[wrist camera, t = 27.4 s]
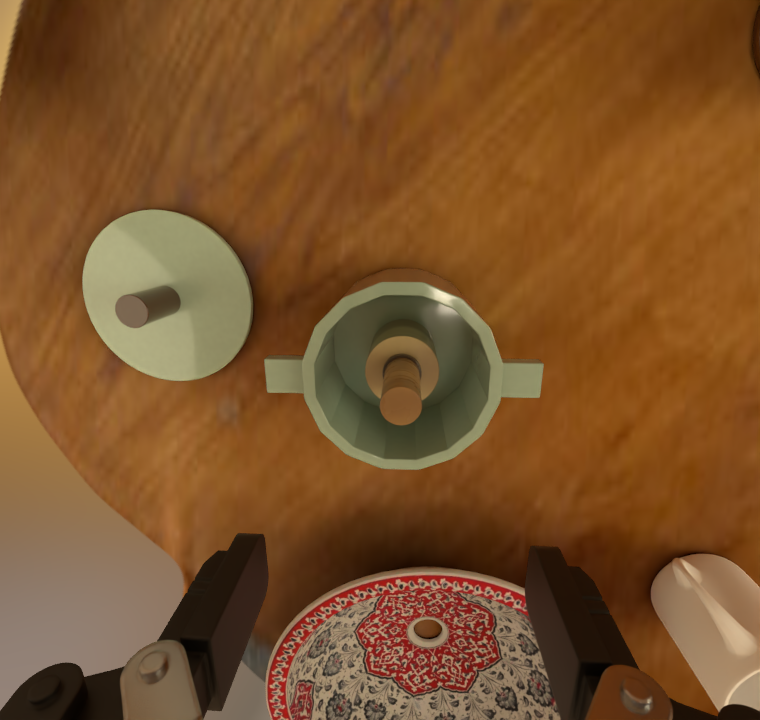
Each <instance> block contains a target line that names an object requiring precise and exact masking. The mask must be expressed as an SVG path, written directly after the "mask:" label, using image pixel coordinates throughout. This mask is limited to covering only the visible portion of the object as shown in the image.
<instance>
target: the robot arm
mask: <svg viewBox="0 0 760 720" xmlns="http://www.w3.org/2000/svg"><path fill="white" fill-rule="evenodd" d="M753 54H754V59H755V63H756V66H757V69H758V71H759V74H760V7H759V10H758V13H757V16H756V20H755V25H754V30H753ZM267 586H268V566H267V556H266V546H265V538H264V535H263V534H246V533H238V534H237V535H236V537H235V539H234V540H233V542H232V544H231V546H230V548H229V549H228V551H217V552H216V553H215V554H214V555H213V556H212V557H210V558H209V559H208V560H207V561H206V562H205V563H204V564H203V566H202V567H201V569H200V571H199V572H198V574H197V576H196V577H195V581H193V582H192V584H191V586H190V587H189V589H188V593H186V594H185V596H184V597H183V599H182V601H181V602H180V604H179V606H178V608H177V609H176V611H175V612H174V614H173V616H172V617H171V619H170V621H169V622H168V625H167V626H166V627H165V629H164V631H163V633H162V634H161V636H160V637H159V639H158V640H157V642H154V643H151V644H149V645H147V646H146V647H144V648H142V649H141V650H139V651H138V652H137V653H136V654H135V655H134V656H133V657H132V658H131V659H130V660H129V661H128V662H127V664H126V665H125V666H124V667H122V668H118V669H115V670H111V671H107V672H103V673H99V674H95V675H91V676H87V677H84V675H83V672H82V670H81V668H80V667H79V666H78V665H76V664H73V663H60V664H55V665H52V666H50V667H47V668H45V669H43V670H42V671H39V672H38V673H36V674H35V675H33V676H32V677H30V678H29V679H28V680H27V681H26V682H24V683H23V684H22V685H21V686H20V687H19V688H18V689H17V690H16V692H15V693H14V694H13V695H12V697H11V698H10V699H9V701H8V702H7V703H6V704H5V706H4V707H3V708H2V709H1V711H0V720H203V719H204V716H205V714H206V712H207V710H212V711H222V709H223V706H224V703H225V701H226V698H227V695H228V693H229V690H230V688H231V685H232V682H233V680H234V677H235V674H236V672H237V669H238V666H239V664H240V661H241V659H242V656H243V653H244V651H245V648H246V646H247V643H248V640H249V638H250V635H251V632H252V630H253V627H254V625H255V622H256V619H257V617H258V614H259V612H260V609H261V606H262V604H263V601H264V598H265V595H266V592H267ZM525 601H526V607H527V611H528V615H529V618H530V621H531V624H532V627H533V631H534V634H535V637H536V640H537V644H538V647H539V650H540V653H541V657H542V660H543V663H544V666H545V670H546V673H547V676H548V679H549V683H550V686H551V689H552V692H553V696H554V699H555V702H556V705H557V708H558V712H559V715H560V718H561V720H760V711H758V710H756V709H754V708H752V707H748V706H745V705H740V704H729V705H726V706H724V707H723V708H722V709H721V710H720V712H719V714H718V717H717V716H714V715H711V714H709V713H706V712H703V711H700V710H697V709H694V708H692V707H689V706H686V705H683V704H681V703H678V702H676V701H674V700H672V699H671V698H669V697H668V695H667V694H666V692H665V691H664V690H663V688H662V687H661V686H660V685H659V684H658V683H657V682H656V681H655V680H654V679H653V678H651V677H650V676H649V675H647V674H646V673H644V672H642V671H640V669H639V668H638V666H637V664H636V662H635V660H634V658H633V656H632V654H631V652H630V651H629V649H628V647H627V645H626V643H625V641H624V639H623V637H622V635H621V633H620V631H619V629H618V627H617V625H616V624H615V622H614V620H613V618H612V616H611V615H610V614H609V610H608V608H607V606H606V604H605V602H604V601H602V597H601V595H600V593H599V591H598V589H597V587H596V585H595V583H594V581H593V580H592V579H591V578H590V577H589V576H588V575H587V574H586V573H585V572H584V571H583V570H582V569H581V568H580V567H572V566H567V564H566V562H565V559H564V557H563V555H562V553H561V551H560V549H559V548H558V547H550V546H531V547H530V550H529V557H528V566H527V574H526V582H525Z"/></svg>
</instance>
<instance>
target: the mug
mask: <svg viewBox="0 0 760 720" xmlns="http://www.w3.org/2000/svg"><path fill="white" fill-rule="evenodd" d="M651 601H652V604H653V607H654V609H655V611H656V613H657V615H658V617H659V618H660V620H661V621H662V623H663V625H664V626H665V628H666V629H667V631H668V632H669V634H670V636H671V637H672V639H673V640H674V642H675V643H676V645H677V647H678V648H679V650H680V651H681V653H682V654H683V656H684V658H685V659H686V661H687V662H688V664H689V665H690V667H691V669H692V670H693V672H694V673H695V675H696V676H697V678H698V680H699V681H700V683H701V684H702V686H703V687H704V689H705V691H706V692H707V694H708V695H709V697H710V698H711V700H712V702H713V703H714V705H715V706H716V708H717V709H718V711H719V712H720V710H721V709H722V708H723V707H724V706H726V705H729V704H740V705H745V706H748V707H752V708H754V709H756V710H758V711H760V587H759V586H758V585H757V584H756V583H755V582H754V581H753V580H752V579H751V578H750V577H749V576H748V575H747V574H746V573H745V572H744V571H743V570H742V569H741V568H740V567H738V566H737V565H736V564H734V563H733V562H731V561H730V560H728V559H726V558H723V557H720V556H717V555H713V554H692V555H688V556H684V557H681V558H675V559H673V560H672V562H670V563H669V564H668V565H666V566H665V567H664V568H663V569H662V570H661V571H660V572H659V573H658V574H657V576H656V577H655V579H654V581H653V583H652V586H651Z"/></svg>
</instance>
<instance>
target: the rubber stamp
mask: <svg viewBox="0 0 760 720" xmlns="http://www.w3.org/2000/svg"><path fill="white" fill-rule="evenodd" d="M365 376H366V380H367V383H368V385H369V387H370V389H371V390H372V392H373V393H374V394H375V395H376V396H377V397H378V398H379V399H380V411H381V413H382V415H383V417H384V418H385V419H386V420H387V421H389V422H390V423H392V424H395V425H407V424H410V423H412V422H414V421H415V420H416V419H417V418H418V417H419V415H420V413H421V410H422V400H424V399H425V398H427V397H428V396H429V395H430V394H431V393H432V391H433V390H434V388H435V387H436V385H437V382H438V379H439V363H438V359H437V354H436V350H435V345H434V341H433V338H432V336H431V334H430V333H429V331H428V330H427V329H426V328H425V327H424V326H422V325H421V324H419V323H417V322H415V321H412V320H408V319H398V320H394V321H391V322H388V323H386V324H385V325H383V326H382V327H381V328H380V329H379V330H378V331H377V333H376V334H375V336H374V338H373V341H372V344H371V347H370V351H369V354H368V358H367V361H366V365H365Z"/></svg>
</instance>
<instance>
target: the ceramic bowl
mask: <svg viewBox="0 0 760 720" xmlns="http://www.w3.org/2000/svg"><path fill="white" fill-rule="evenodd" d="M424 619H431V620H434V621H437V622H438V623H439V624H440V625H441V626H442V632H441V634H440V635H439V636H438V637H436V638H433V639H423V638H421V637H419V636H417V635H416V633H415V632H414V625H415V624H416V623H417V622H419V621H421V620H424ZM265 688H266V689H265V690H266V702H267V707H268V712H269V715H270V718H271V720H561V718H560V715H559V712H558V708H557V705H556V702H555V699H554V696H553V692H552V689H551V686H550V683H549V679H548V676H547V673H546V670H545V666H544V663H543V660H542V657H541V653H540V650H539V647H538V644H537V640H536V637H535V634H534V631H533V627H532V624H531V621H530V618H529V615H528V611H527V607H526V601H525V589H524V588H522V587H520V586H517V585H515V584H513V583H510V582H508V581H505V580H502V579H499V578H496V577H493V576H488V575H484V574H480V573H476V572H471V571H465V570H458V569H452V568H446V567H422V566H421V567H409V568H402V569H396V570H392V571H386V572H381V573H377V574H373V575H369V576H365V577H362V578H359V579H356V580H353V581H350V582H348V583H346V584H344V585H341V586H339V587H337V588H335V589H333V590H331V591H329V592H328V593H326V594H324V595H322V596H321V597H319V598H318V599H316V600H315V601H314V602H312V603H311V604H309V605H308V606H307V607H306V608H305V609H303V610H302V611H301V612H300V613H299V614H298V615H297V616H296V617H295V618H294V619H293V620H292V621H291V623H290V624H289V625H288V626H287V628H286V629H285V630H284V632H283V633H282V635H281V636H280V638H279V640H278V642H277V643H276V645H275V647H274V649H273V652H272V654H271V657H270V660H269V664H268V668H267V672H266V684H265Z"/></svg>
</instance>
